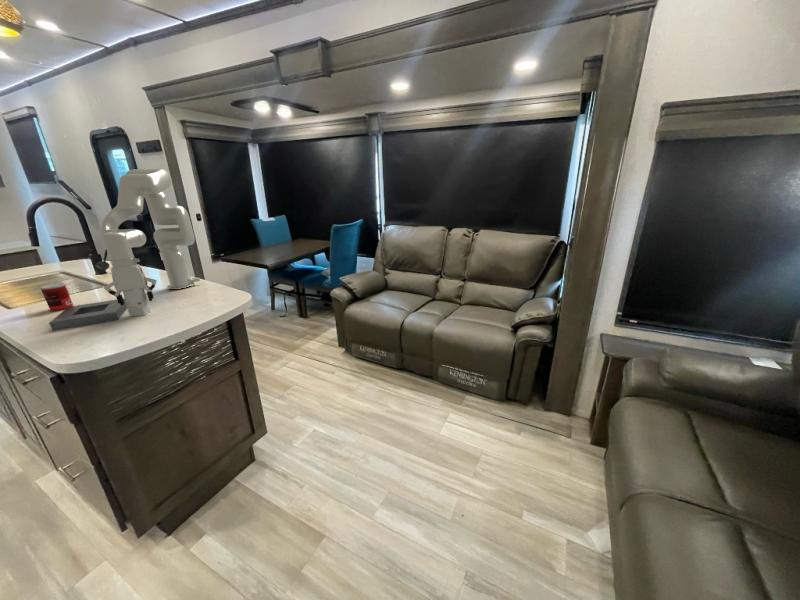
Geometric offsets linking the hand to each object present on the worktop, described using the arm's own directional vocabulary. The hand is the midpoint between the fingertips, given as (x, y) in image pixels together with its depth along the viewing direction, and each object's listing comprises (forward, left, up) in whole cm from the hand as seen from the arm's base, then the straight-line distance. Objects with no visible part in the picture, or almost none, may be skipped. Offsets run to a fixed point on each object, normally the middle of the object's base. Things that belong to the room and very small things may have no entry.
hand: (137, 302), depth 134 cm
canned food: (+34, -30, -6) cm, 46 cm away
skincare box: (0, 0, -6) cm, 6 cm away
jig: (+17, -7, -5) cm, 19 cm away
